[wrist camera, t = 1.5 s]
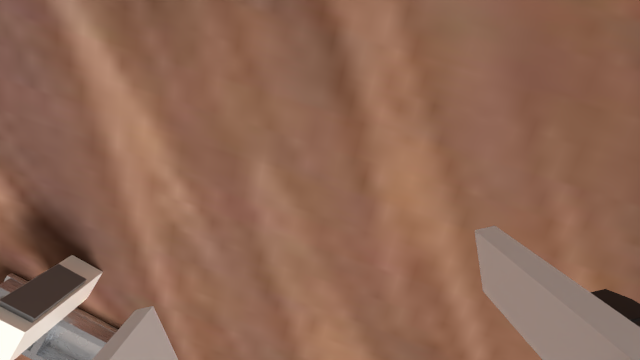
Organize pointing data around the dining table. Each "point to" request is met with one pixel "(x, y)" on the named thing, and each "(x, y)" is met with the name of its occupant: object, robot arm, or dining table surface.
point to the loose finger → (43, 304)
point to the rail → (65, 332)
